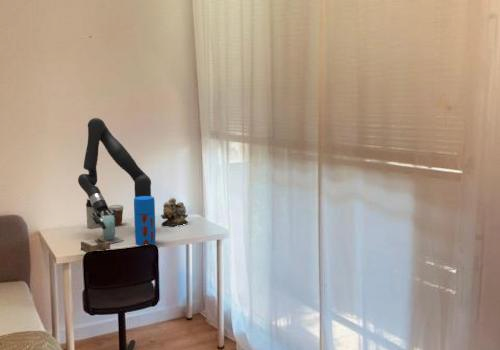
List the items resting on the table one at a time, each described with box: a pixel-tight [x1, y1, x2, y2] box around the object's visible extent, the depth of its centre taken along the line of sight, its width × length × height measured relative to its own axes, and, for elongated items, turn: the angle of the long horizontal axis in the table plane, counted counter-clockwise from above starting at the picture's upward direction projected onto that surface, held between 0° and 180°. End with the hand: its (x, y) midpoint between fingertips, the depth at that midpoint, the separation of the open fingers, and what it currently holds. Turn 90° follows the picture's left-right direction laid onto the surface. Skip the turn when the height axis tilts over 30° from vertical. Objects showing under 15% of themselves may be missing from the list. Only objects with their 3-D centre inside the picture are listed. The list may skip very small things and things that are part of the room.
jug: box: [102, 215, 116, 239], centre depth 263 cm, size 6×8×12 cm
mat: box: [95, 236, 125, 245], centre depth 265 cm, size 11×11×1 cm
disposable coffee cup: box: [108, 204, 124, 227], centre depth 301 cm, size 10×10×12 cm
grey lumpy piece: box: [160, 197, 189, 227], centre depth 302 cm, size 18×12×17 cm, turn 127°
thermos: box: [133, 195, 157, 246], centre depth 260 cm, size 11×11×25 cm
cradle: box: [80, 237, 111, 253], centre depth 250 cm, size 10×11×4 cm
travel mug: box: [85, 197, 101, 229], centre depth 296 cm, size 8×8×18 cm
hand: (110, 227), depth 263 cm, fingers closed on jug, 6 cm apart
